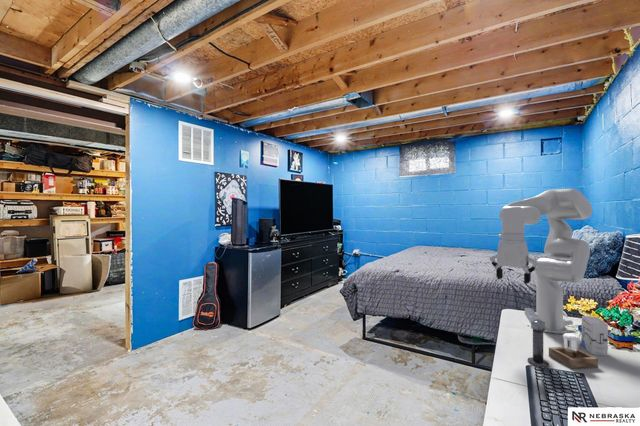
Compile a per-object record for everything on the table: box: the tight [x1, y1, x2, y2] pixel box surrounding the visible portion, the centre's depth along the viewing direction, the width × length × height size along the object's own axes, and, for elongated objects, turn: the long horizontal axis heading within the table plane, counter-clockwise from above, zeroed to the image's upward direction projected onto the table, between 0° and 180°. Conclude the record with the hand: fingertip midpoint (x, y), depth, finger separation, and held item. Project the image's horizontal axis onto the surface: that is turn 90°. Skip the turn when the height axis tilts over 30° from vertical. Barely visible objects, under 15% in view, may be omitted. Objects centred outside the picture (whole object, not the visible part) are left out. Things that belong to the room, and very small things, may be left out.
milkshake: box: [562, 331, 582, 358], centre depth 106 cm, size 5×5×10 cm
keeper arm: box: [524, 307, 545, 332], centre depth 111 cm, size 18×4×2 cm, turn 155°
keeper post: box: [527, 329, 550, 369], centre depth 105 cm, size 6×6×12 cm
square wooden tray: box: [548, 346, 599, 370], centre depth 106 cm, size 9×9×3 cm
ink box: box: [580, 315, 609, 357], centre depth 115 cm, size 9×5×12 cm, turn 160°
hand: (512, 280), depth 120 cm, fingers open, 9 cm apart
